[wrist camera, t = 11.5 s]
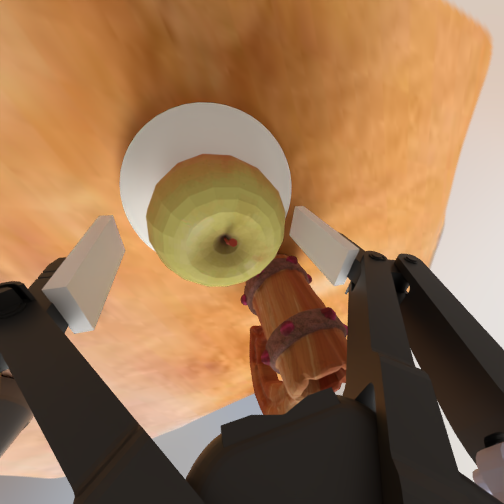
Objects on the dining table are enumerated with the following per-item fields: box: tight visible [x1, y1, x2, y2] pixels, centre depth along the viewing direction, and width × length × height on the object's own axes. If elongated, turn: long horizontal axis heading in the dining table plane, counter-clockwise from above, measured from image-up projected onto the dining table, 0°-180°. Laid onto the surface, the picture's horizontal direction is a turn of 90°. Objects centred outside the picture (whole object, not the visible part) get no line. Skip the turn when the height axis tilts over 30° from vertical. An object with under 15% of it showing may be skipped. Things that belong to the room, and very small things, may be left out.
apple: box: [146, 154, 286, 286], centre depth 15 cm, size 10×10×8 cm
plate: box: [120, 102, 291, 252], centre depth 19 cm, size 15×15×1 cm
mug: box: [241, 254, 348, 415], centre depth 22 cm, size 15×8×15 cm, turn 156°
